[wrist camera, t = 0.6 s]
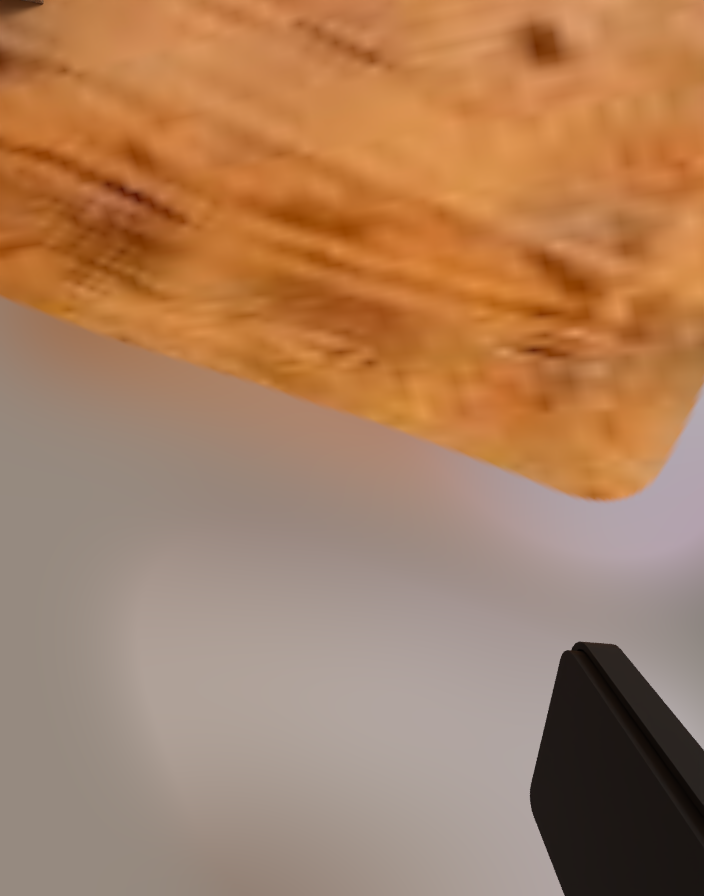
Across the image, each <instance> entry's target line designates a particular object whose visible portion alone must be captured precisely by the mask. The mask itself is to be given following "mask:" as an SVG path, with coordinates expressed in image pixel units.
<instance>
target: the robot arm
mask: <svg viewBox="0 0 704 896" xmlns="http://www.w3.org/2000/svg"><path fill="white" fill-rule="evenodd" d="M530 802H531V808H532V812H533V816H534V818H535V821H536V823H537V826H538V829H539V831H540V834H541V836H542V839H543V841H544V844H545V846H546V849H547V852H548V854H549V857H550V859H551V862H552V864H553V867H554V870H555V872H556V875H557V877H558V880H559V882H560V884H561V887H562V890H563V893H564V895H565V896H704V750H703V749H702V748H701V746H700V745H699V744H698V743H697V742H696V740H695V739H694V738H693V737H692V735H691V734H690V733H689V732H688V731H687V729H686V728H685V727H684V726H683V725H682V723H681V722H680V721H679V720H678V718H677V717H676V716H675V715H674V714H673V712H672V711H671V710H670V709H669V707H668V706H667V705H666V704H665V703H664V702H663V700H662V699H661V698H660V697H659V695H658V694H657V693H656V692H655V690H654V689H653V688H652V687H651V686H650V684H649V683H648V682H647V681H646V680H645V678H644V677H643V676H642V675H641V673H640V672H639V671H638V670H637V669H636V667H635V666H634V665H633V664H632V663H631V661H630V660H629V659H628V658H627V656H626V655H625V654H624V653H623V651H622V650H621V649H620V648H619V647H618V646H616V645H613V644H604V643H590V642H578V643H575V645H574V646H573V647H572V650H571V651H569V650H567V651H565V652H564V653H563V654H562V656H561V659H560V664H559V667H558V672H557V676H556V681H555V684H554V689H553V693H552V697H551V702H550V706H549V710H548V714H547V719H546V723H545V727H544V731H543V736H542V740H541V744H540V749H539V753H538V757H537V761H536V766H535V770H534V774H533V778H532V783H531V788H530Z"/></svg>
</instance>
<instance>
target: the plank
mask: <svg viewBox="0 0 704 896" xmlns="http://www.w3.org/2000/svg"><path fill="white" fill-rule="evenodd" d="M23 1H30V2H36V3H42V4H43V0H23Z"/></svg>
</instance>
